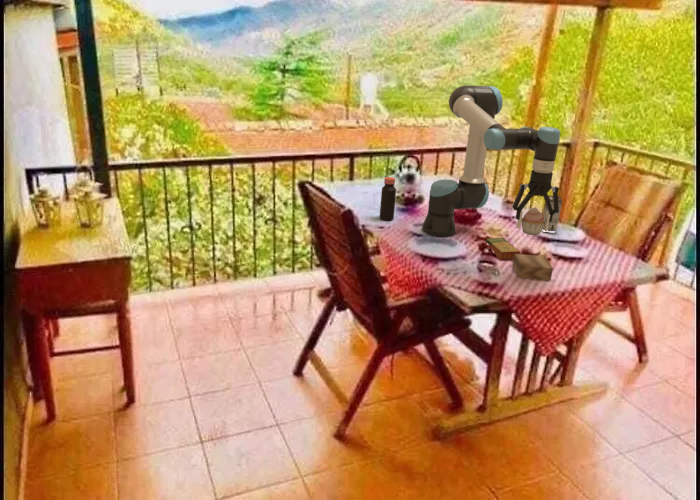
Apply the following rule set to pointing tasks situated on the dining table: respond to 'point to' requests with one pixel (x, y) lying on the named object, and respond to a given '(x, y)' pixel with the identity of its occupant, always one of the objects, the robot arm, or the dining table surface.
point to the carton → (502, 248)
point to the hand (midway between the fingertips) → (531, 228)
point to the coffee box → (553, 224)
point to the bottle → (388, 200)
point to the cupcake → (533, 222)
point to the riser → (532, 267)
